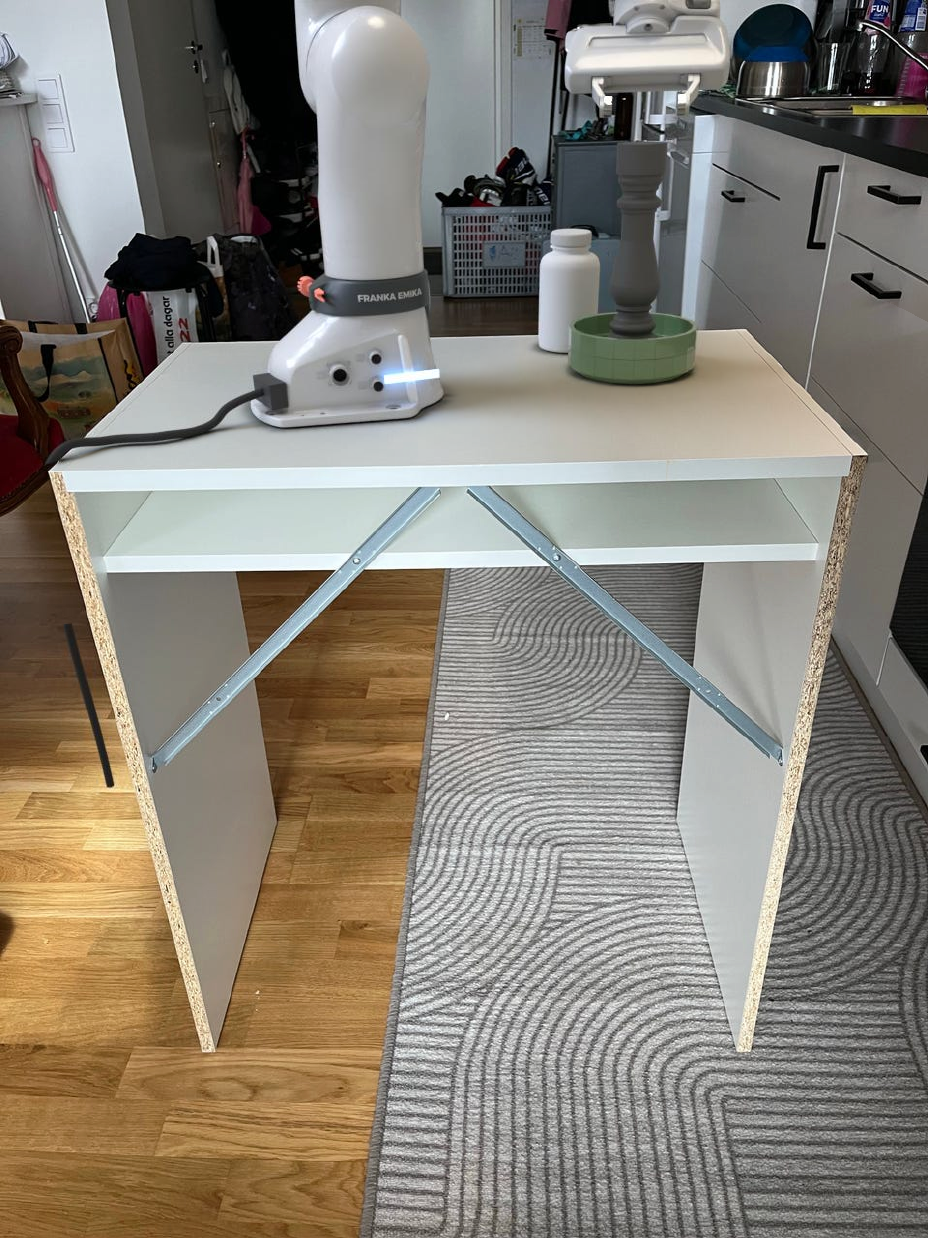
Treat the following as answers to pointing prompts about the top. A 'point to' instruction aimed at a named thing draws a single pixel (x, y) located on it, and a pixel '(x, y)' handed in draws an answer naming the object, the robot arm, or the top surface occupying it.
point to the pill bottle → (566, 286)
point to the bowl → (632, 350)
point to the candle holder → (637, 238)
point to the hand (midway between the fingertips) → (644, 112)
